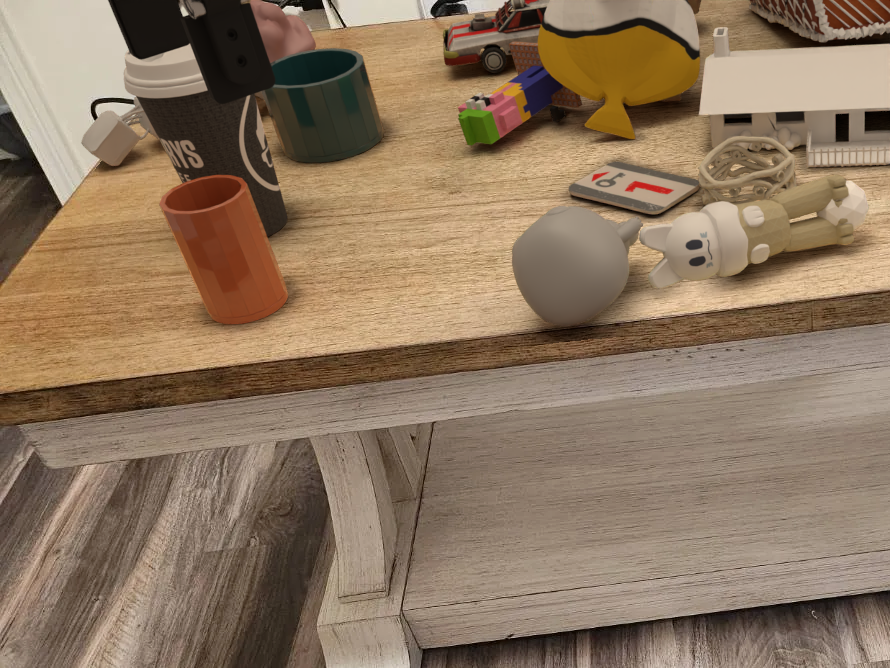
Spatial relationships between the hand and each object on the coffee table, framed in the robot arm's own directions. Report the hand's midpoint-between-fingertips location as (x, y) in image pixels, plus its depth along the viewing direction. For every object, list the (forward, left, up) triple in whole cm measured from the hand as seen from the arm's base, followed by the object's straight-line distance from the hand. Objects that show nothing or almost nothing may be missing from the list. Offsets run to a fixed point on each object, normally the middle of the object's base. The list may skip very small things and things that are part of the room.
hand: (202, 71), depth 57 cm
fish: (+35, +35, -13) cm, 51 cm away
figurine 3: (+26, +6, -21) cm, 34 cm away
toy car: (+41, +51, -23) cm, 69 cm away
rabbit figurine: (+43, -1, -21) cm, 47 cm away
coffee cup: (+4, +33, -23) cm, 41 cm away
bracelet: (+40, +12, -21) cm, 47 cm away
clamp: (+6, +57, -24) cm, 62 cm away
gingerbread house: (+75, +31, -6) cm, 81 cm away
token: (+34, +11, -23) cm, 42 cm away
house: (+54, +14, -23) cm, 60 cm away
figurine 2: (+36, +37, -20) cm, 56 cm away
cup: (0, +20, -23) cm, 31 cm away
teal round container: (+16, +45, -23) cm, 53 cm away
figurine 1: (+16, +64, -23) cm, 70 cm away
